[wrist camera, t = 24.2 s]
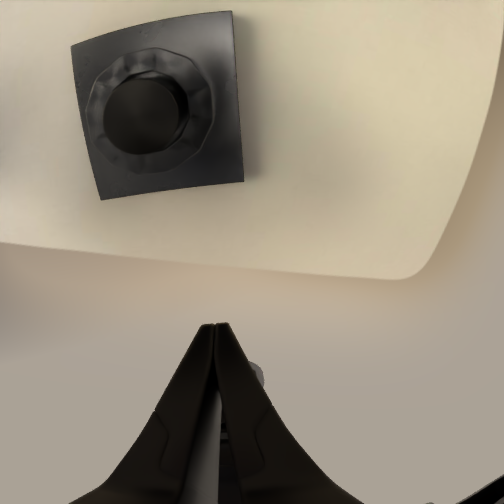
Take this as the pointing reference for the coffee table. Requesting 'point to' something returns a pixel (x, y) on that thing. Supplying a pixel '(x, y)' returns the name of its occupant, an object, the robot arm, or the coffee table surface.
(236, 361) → the robot arm
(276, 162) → the coffee table surface
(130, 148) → the plunger
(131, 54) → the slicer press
